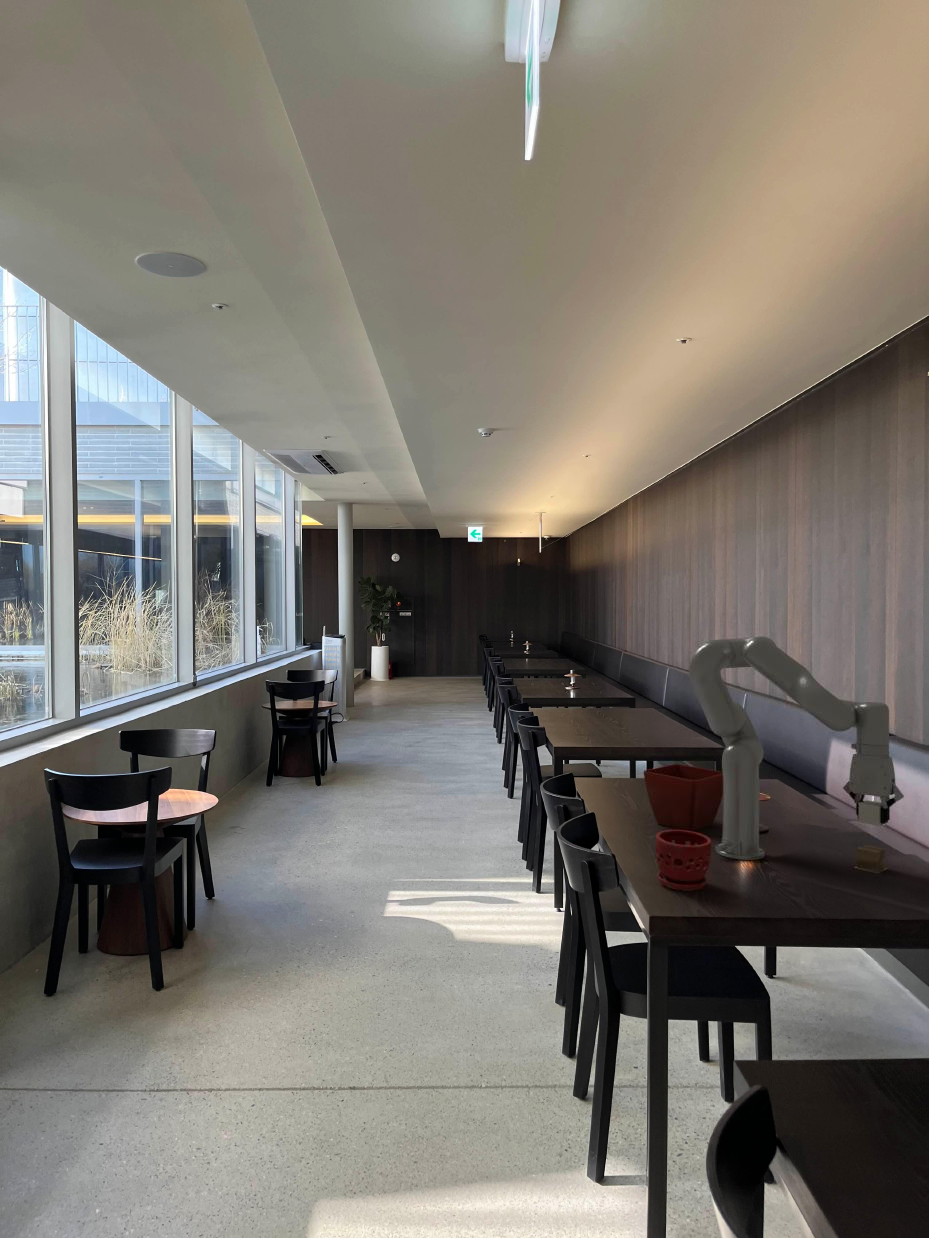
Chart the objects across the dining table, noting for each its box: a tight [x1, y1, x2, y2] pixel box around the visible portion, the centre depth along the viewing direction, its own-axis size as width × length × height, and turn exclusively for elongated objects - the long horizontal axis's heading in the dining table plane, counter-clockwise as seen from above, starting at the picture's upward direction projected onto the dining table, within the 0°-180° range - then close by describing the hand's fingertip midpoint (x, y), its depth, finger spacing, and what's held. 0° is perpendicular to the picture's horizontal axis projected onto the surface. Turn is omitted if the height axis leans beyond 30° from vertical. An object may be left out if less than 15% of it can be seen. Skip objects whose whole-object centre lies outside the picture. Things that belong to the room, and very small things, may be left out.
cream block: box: [858, 799, 886, 827], centre depth 207 cm, size 5×5×5 cm
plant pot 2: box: [655, 829, 712, 892], centre depth 196 cm, size 13×13×12 cm
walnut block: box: [856, 844, 886, 873], centre depth 207 cm, size 5×5×5 cm
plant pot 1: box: [643, 763, 723, 832], centre depth 253 cm, size 19×19×17 cm
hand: (872, 819), depth 207 cm, fingers closed on cream block, 5 cm apart
